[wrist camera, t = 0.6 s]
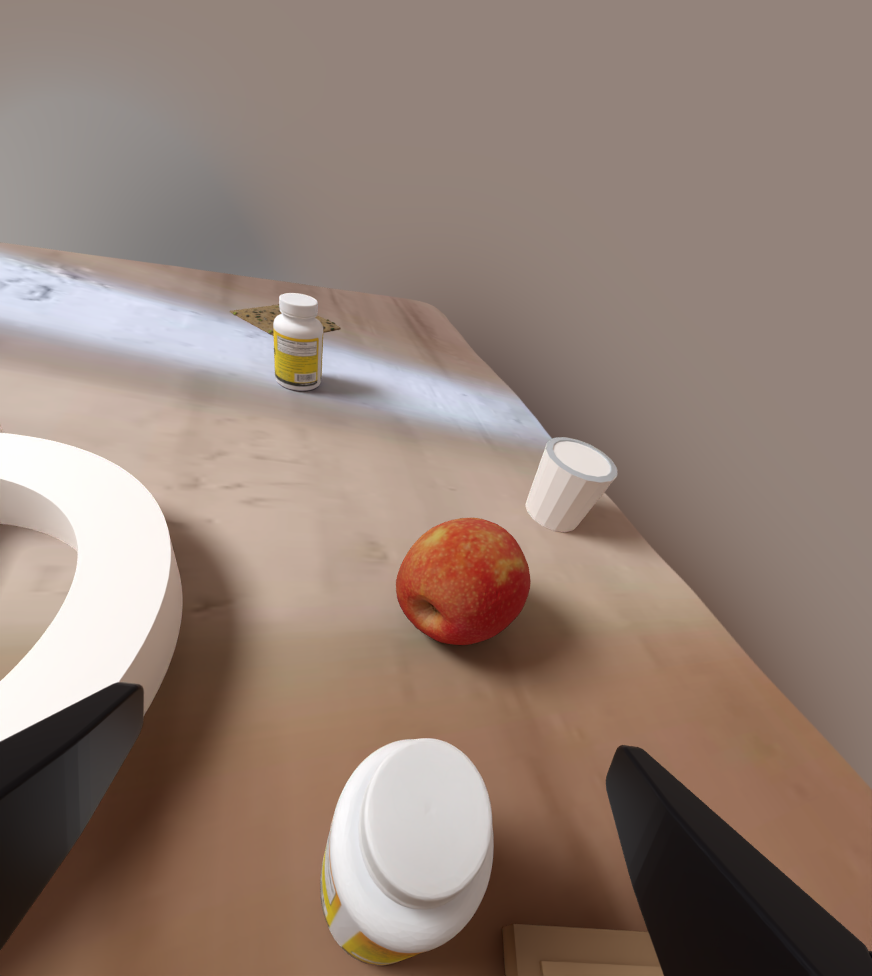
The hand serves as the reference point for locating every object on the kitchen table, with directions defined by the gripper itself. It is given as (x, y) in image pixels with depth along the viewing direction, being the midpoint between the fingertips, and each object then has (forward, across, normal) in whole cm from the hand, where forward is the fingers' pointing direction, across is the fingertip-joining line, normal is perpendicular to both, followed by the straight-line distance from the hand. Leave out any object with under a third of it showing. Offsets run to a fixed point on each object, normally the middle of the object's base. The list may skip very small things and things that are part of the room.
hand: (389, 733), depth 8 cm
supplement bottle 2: (+7, -2, +15) cm, 17 cm away
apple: (+20, -4, +10) cm, 23 cm away
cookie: (+64, +22, -10) cm, 69 cm away
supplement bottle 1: (+47, +15, -3) cm, 50 cm away
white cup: (+33, -15, +4) cm, 37 cm away
